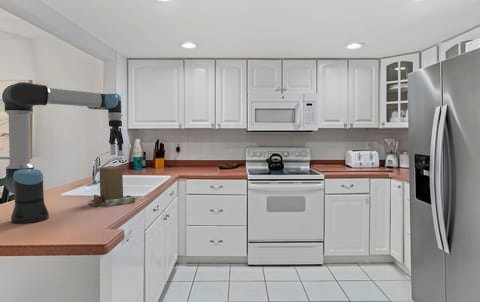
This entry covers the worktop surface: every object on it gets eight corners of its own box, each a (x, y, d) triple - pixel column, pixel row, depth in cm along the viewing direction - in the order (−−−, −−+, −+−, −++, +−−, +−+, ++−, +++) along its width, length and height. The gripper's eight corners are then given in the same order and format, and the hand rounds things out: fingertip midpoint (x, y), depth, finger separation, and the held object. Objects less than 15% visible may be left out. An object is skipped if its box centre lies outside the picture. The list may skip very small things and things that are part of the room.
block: (115, 198, 212) (113, 166, 211) (123, 199, 206) (122, 166, 205) (99, 200, 205) (98, 167, 204) (108, 202, 198) (107, 168, 197)
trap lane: (95, 207, 184) (95, 202, 184) (83, 201, 204) (82, 196, 204) (143, 201, 201) (143, 196, 201) (127, 195, 221) (127, 190, 220)
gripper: (128, 119, 196) (129, 156, 197) (115, 120, 216) (116, 154, 217) (115, 119, 191) (116, 156, 192) (102, 120, 211) (104, 154, 212)
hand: (116, 155), depth 204 cm, fingers open, 13 cm apart
